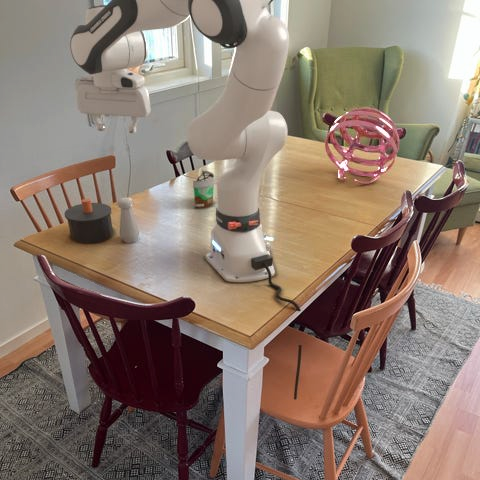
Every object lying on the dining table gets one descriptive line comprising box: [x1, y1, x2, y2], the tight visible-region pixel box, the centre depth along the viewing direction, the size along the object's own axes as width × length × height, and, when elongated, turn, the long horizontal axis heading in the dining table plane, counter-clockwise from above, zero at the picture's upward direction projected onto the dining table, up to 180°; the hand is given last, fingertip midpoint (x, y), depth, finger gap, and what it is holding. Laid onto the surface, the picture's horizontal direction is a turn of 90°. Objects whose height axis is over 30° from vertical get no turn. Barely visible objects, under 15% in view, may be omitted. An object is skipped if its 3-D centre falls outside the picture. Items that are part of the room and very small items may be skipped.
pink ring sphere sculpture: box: [324, 107, 401, 186], centre depth 184 cm, size 28×28×27 cm
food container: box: [192, 169, 217, 209], centre depth 166 cm, size 12×6×10 cm, turn 168°
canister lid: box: [64, 198, 113, 223], centre depth 144 cm, size 14×14×5 cm
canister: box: [66, 214, 114, 244], centre depth 147 cm, size 13×13×7 cm
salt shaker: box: [117, 197, 140, 244], centre depth 142 cm, size 6×6×13 cm
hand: (117, 131), depth 135 cm, fingers open, 8 cm apart
